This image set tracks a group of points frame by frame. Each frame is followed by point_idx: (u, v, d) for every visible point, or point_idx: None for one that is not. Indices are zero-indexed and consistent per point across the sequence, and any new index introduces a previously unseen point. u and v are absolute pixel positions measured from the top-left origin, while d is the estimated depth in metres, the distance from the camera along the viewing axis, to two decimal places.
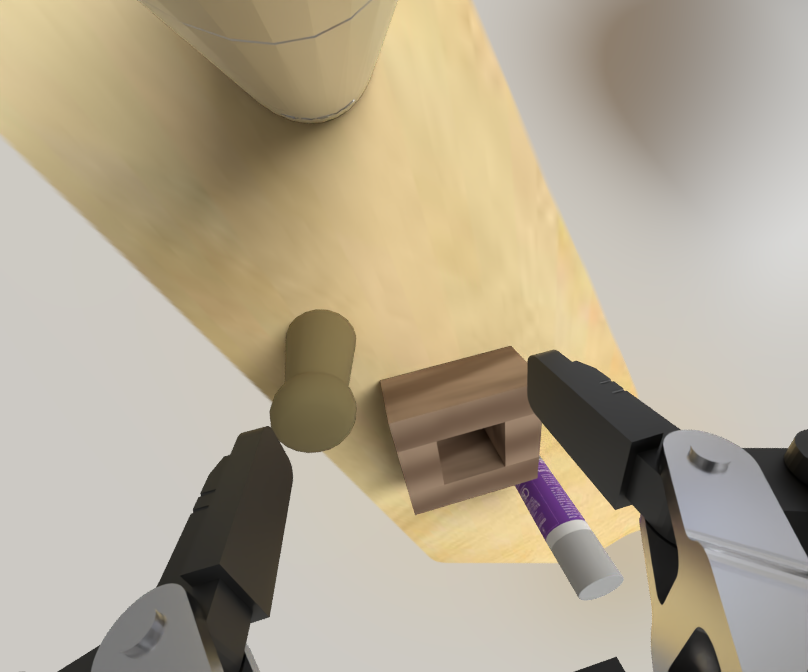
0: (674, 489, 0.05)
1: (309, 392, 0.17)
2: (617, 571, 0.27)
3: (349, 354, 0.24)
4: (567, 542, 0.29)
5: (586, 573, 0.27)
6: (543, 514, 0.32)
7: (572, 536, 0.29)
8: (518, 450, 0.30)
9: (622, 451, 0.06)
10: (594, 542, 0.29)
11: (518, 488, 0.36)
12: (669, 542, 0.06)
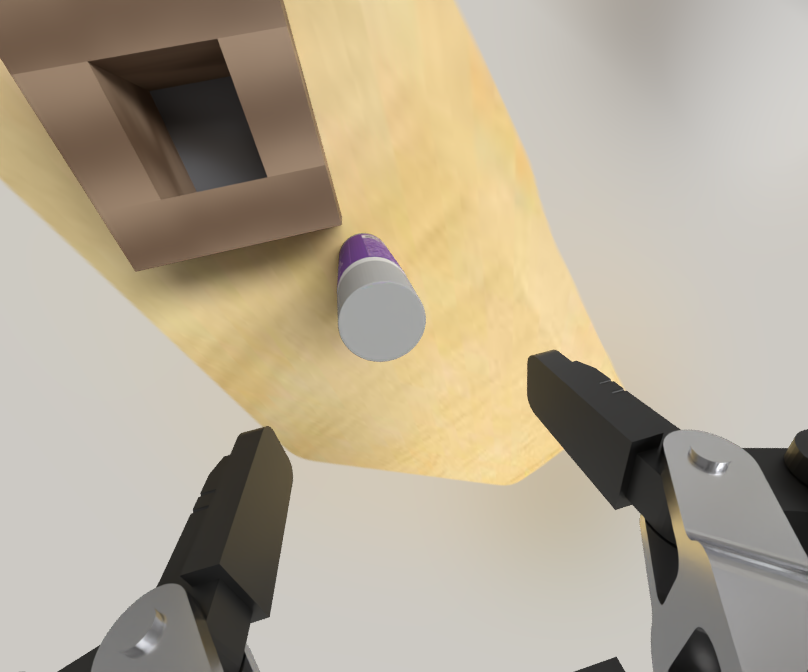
0: (674, 489, 0.05)
1: None
2: (408, 286, 0.15)
3: None
4: (348, 274, 0.17)
5: (350, 289, 0.15)
6: (340, 270, 0.20)
7: (357, 266, 0.17)
8: (277, 135, 0.18)
9: (622, 451, 0.06)
10: (390, 268, 0.17)
11: None
12: (669, 542, 0.06)
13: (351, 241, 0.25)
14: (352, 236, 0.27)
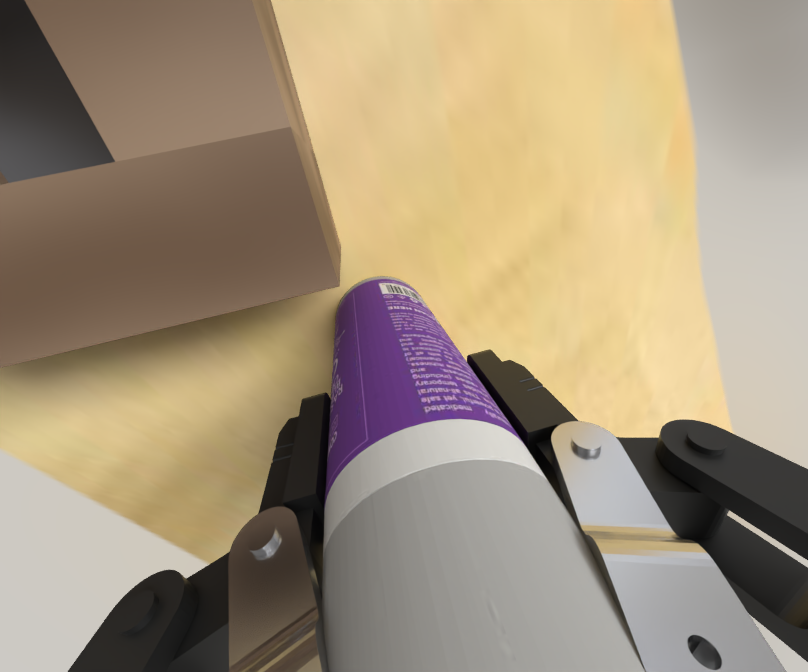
0: (566, 484, 0.05)
1: None
2: None
3: None
4: (363, 540, 0.04)
5: None
6: (337, 420, 0.07)
7: (399, 503, 0.04)
8: (124, 22, 0.05)
9: (524, 441, 0.07)
10: (544, 538, 0.04)
11: None
12: None
13: (360, 301, 0.12)
14: (361, 283, 0.14)
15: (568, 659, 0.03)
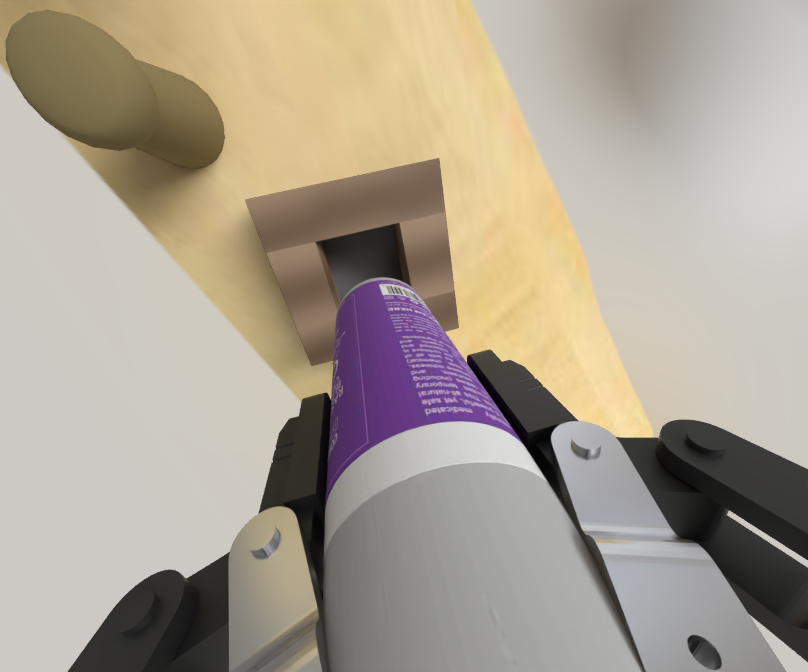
0: (566, 484, 0.05)
1: (50, 12, 0.13)
2: None
3: (188, 100, 0.20)
4: (364, 543, 0.04)
5: None
6: (337, 422, 0.07)
7: (400, 505, 0.04)
8: (425, 275, 0.25)
9: (524, 441, 0.07)
10: (545, 542, 0.04)
11: None
12: None
13: (360, 302, 0.12)
14: (361, 284, 0.14)
15: (569, 663, 0.03)
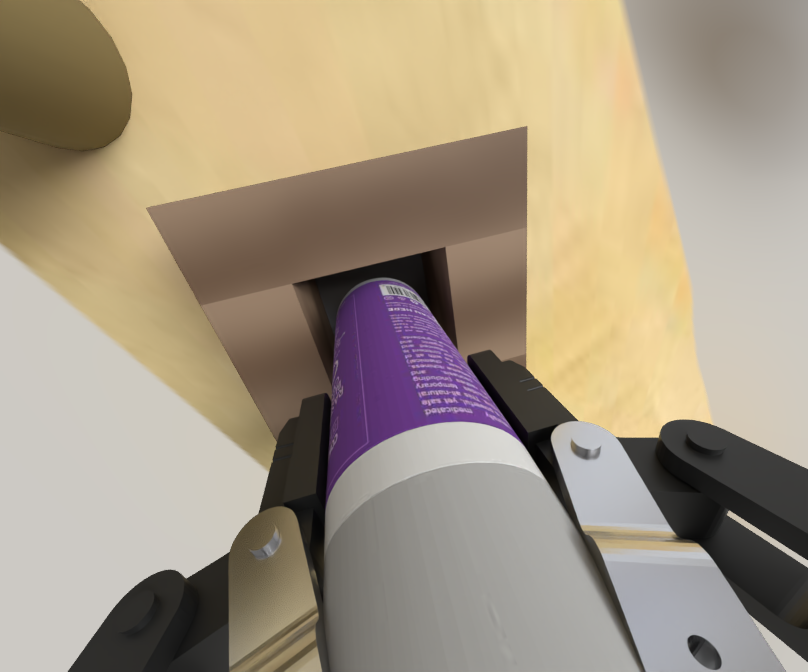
0: (566, 484, 0.05)
1: None
2: None
3: None
4: (364, 543, 0.04)
5: None
6: (337, 422, 0.07)
7: (400, 505, 0.04)
8: (483, 332, 0.15)
9: (524, 441, 0.07)
10: (544, 542, 0.04)
11: None
12: None
13: (360, 302, 0.12)
14: (361, 284, 0.14)
15: (569, 663, 0.03)
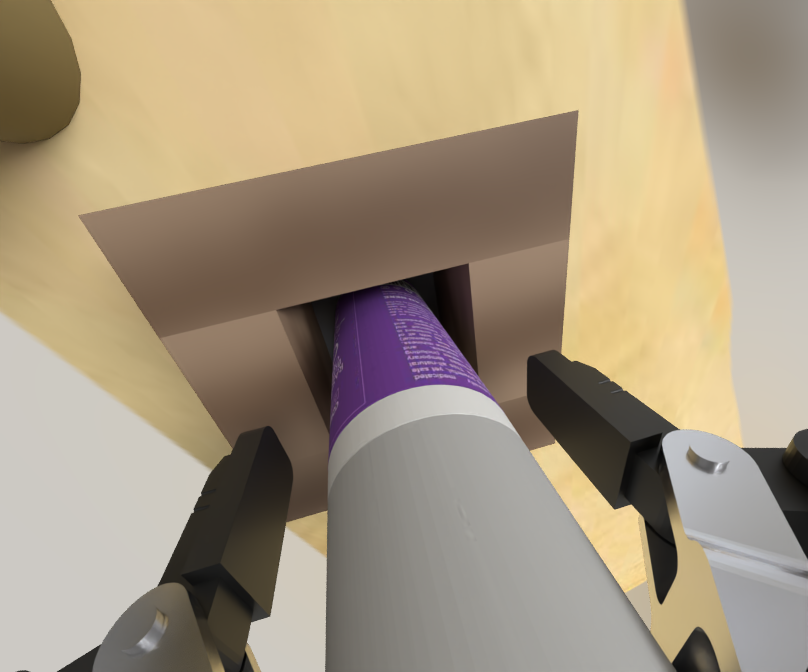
0: (673, 489, 0.05)
1: None
2: None
3: None
4: (361, 475, 0.05)
5: None
6: (338, 392, 0.08)
7: (391, 445, 0.05)
8: (509, 363, 0.13)
9: (621, 451, 0.06)
10: (508, 469, 0.05)
11: None
12: (668, 542, 0.06)
13: (358, 292, 0.13)
14: None
15: (516, 540, 0.04)
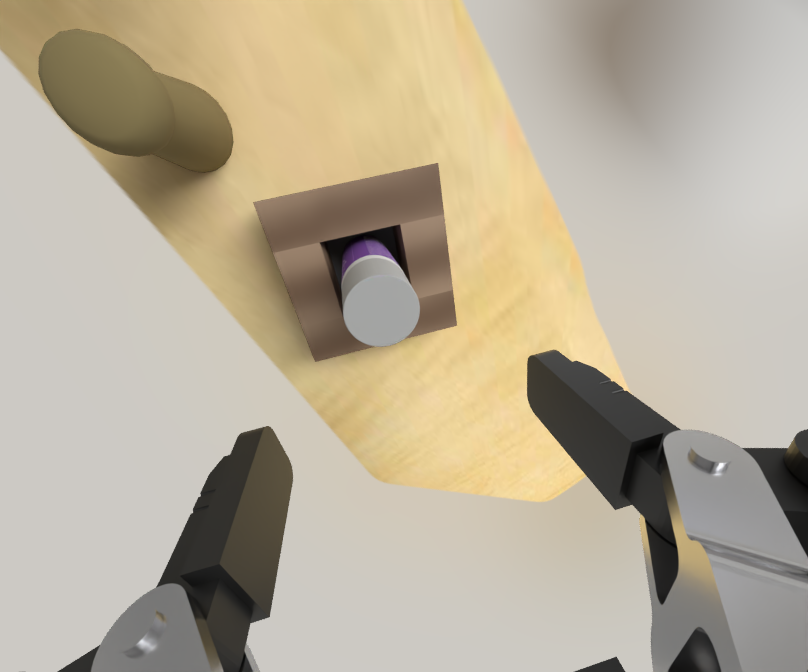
0: (674, 489, 0.05)
1: (79, 31, 0.14)
2: (404, 280, 0.17)
3: (200, 108, 0.21)
4: (351, 270, 0.19)
5: (353, 282, 0.17)
6: (344, 267, 0.22)
7: (359, 263, 0.19)
8: (425, 275, 0.27)
9: (622, 451, 0.06)
10: (388, 264, 0.19)
11: None
12: (669, 542, 0.06)
13: (354, 242, 0.27)
14: (354, 237, 0.29)
15: (383, 267, 0.18)
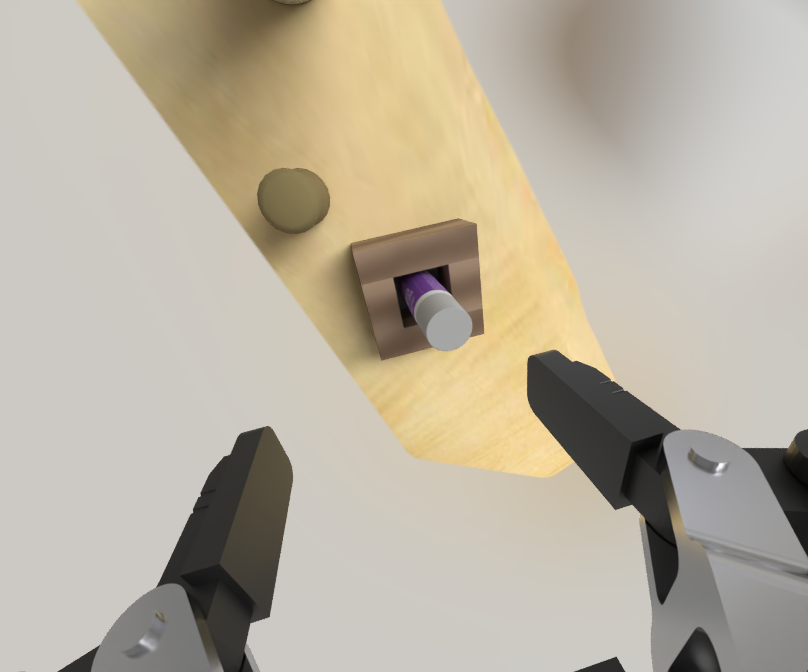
0: (674, 489, 0.05)
1: (284, 171, 0.24)
2: (463, 310, 0.27)
3: (321, 192, 0.31)
4: (425, 301, 0.30)
5: (432, 311, 0.27)
6: (414, 296, 0.32)
7: (430, 296, 0.30)
8: (463, 298, 0.37)
9: (622, 451, 0.06)
10: (450, 298, 0.29)
11: (404, 296, 0.37)
12: (669, 542, 0.06)
13: (411, 274, 0.37)
14: None
15: (449, 301, 0.28)
